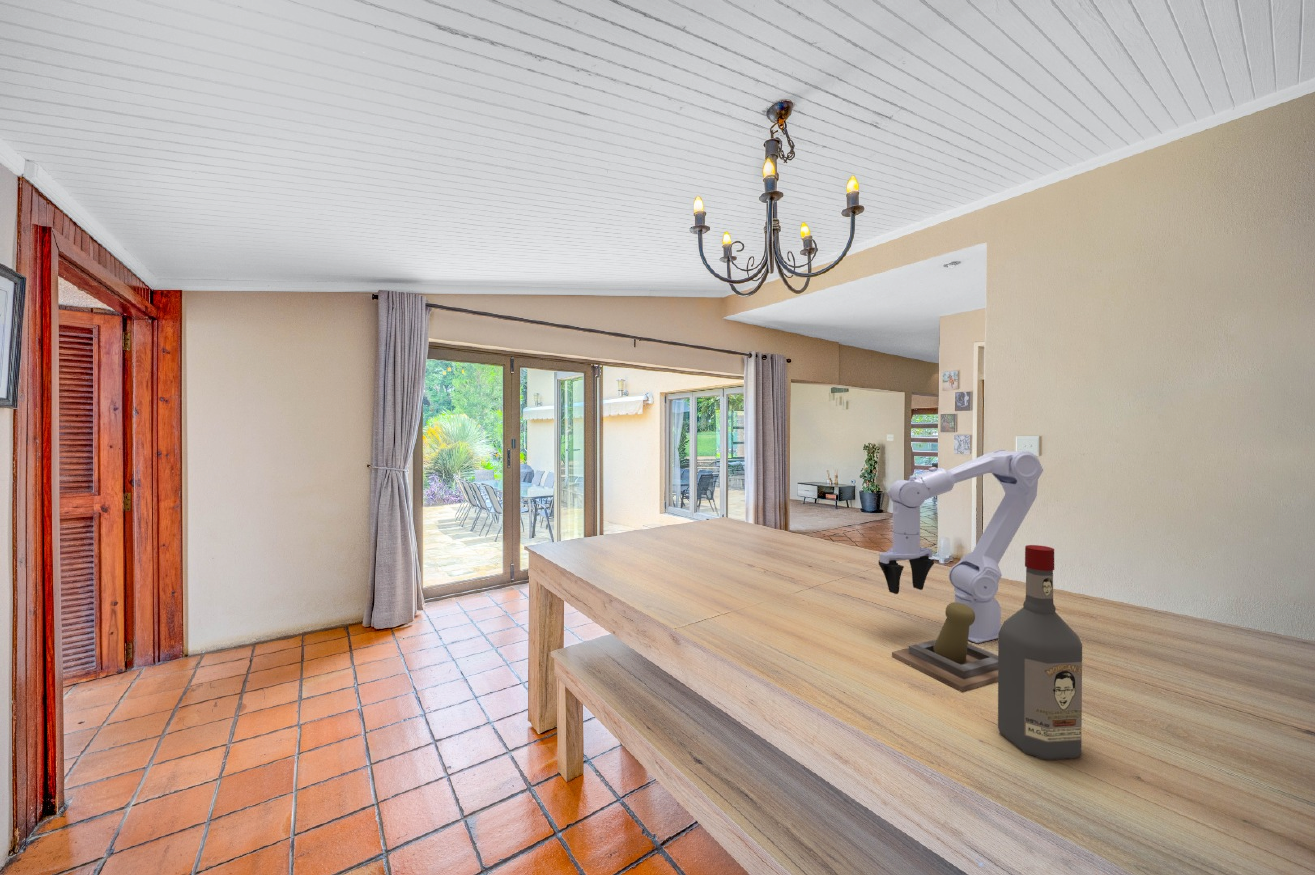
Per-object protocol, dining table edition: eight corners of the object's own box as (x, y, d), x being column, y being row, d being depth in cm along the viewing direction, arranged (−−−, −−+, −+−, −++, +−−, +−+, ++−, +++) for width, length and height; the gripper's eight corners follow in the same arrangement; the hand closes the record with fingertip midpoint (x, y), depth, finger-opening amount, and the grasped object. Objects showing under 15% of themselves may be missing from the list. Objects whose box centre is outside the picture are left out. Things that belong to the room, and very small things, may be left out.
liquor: (989, 726, 84) (989, 542, 83) (1041, 723, 85) (1042, 540, 84) (1034, 763, 75) (1035, 556, 74) (1093, 759, 76) (1094, 554, 75)
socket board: (952, 642, 117) (952, 631, 116) (1026, 673, 102) (1026, 660, 102) (891, 656, 110) (891, 644, 110) (962, 692, 95) (962, 678, 95)
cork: (971, 665, 104) (985, 617, 101) (940, 661, 104) (953, 613, 101) (957, 646, 110) (970, 600, 107) (928, 642, 110) (940, 596, 107)
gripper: (914, 526, 127) (914, 582, 127) (869, 531, 121) (868, 589, 121) (940, 532, 120) (939, 590, 120) (893, 537, 115) (893, 598, 115)
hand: (905, 590), depth 120 cm, fingers open, 7 cm apart
